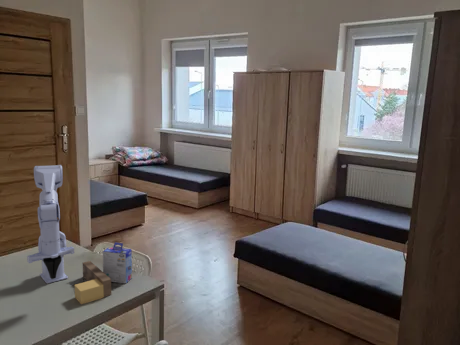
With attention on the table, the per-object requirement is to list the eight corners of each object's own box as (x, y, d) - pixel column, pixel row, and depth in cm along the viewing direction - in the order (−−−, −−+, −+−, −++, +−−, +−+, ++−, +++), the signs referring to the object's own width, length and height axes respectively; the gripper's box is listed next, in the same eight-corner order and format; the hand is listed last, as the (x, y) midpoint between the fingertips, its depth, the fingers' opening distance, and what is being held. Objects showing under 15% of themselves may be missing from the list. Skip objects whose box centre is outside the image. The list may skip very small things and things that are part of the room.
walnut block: (83, 277, 159) (82, 262, 158) (90, 275, 161) (90, 260, 159) (103, 297, 144) (102, 281, 142) (111, 294, 145) (111, 279, 144)
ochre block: (75, 297, 143) (74, 284, 142) (97, 291, 148) (96, 278, 147) (81, 304, 138) (80, 291, 137) (103, 297, 143) (103, 284, 143)
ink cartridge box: (132, 277, 159) (132, 243, 156) (126, 284, 154) (125, 248, 151) (109, 275, 161) (108, 240, 158) (102, 281, 156) (101, 245, 153)
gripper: (30, 247, 127) (32, 287, 129) (76, 238, 136) (78, 276, 138) (24, 241, 132) (27, 279, 135) (69, 232, 141) (71, 269, 144)
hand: (52, 277), depth 137 cm, fingers closed
